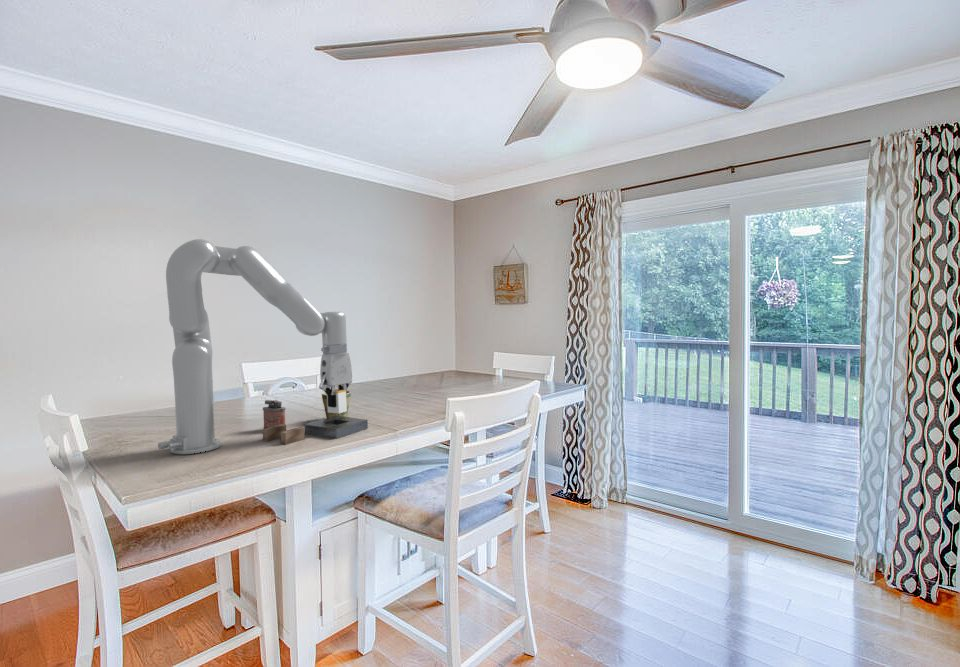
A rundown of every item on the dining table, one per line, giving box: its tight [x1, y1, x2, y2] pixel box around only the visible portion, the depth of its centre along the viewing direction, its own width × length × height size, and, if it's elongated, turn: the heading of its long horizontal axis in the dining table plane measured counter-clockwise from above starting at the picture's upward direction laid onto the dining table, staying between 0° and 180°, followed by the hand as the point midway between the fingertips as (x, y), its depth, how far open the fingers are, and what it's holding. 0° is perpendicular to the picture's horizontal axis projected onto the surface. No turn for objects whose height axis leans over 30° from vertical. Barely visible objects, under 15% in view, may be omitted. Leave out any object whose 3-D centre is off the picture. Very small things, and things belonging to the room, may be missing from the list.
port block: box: [303, 416, 369, 440], centre depth 157 cm, size 14×14×3 cm
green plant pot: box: [321, 390, 352, 419], centre depth 174 cm, size 13×10×10 cm
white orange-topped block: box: [327, 388, 347, 413], centre depth 157 cm, size 4×5×7 cm
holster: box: [262, 424, 305, 445], centre depth 148 cm, size 7×10×4 cm
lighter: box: [262, 399, 286, 430], centre depth 160 cm, size 8×3×10 cm, turn 74°
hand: (336, 405), depth 157 cm, fingers closed on white orange-topped block, 3 cm apart
